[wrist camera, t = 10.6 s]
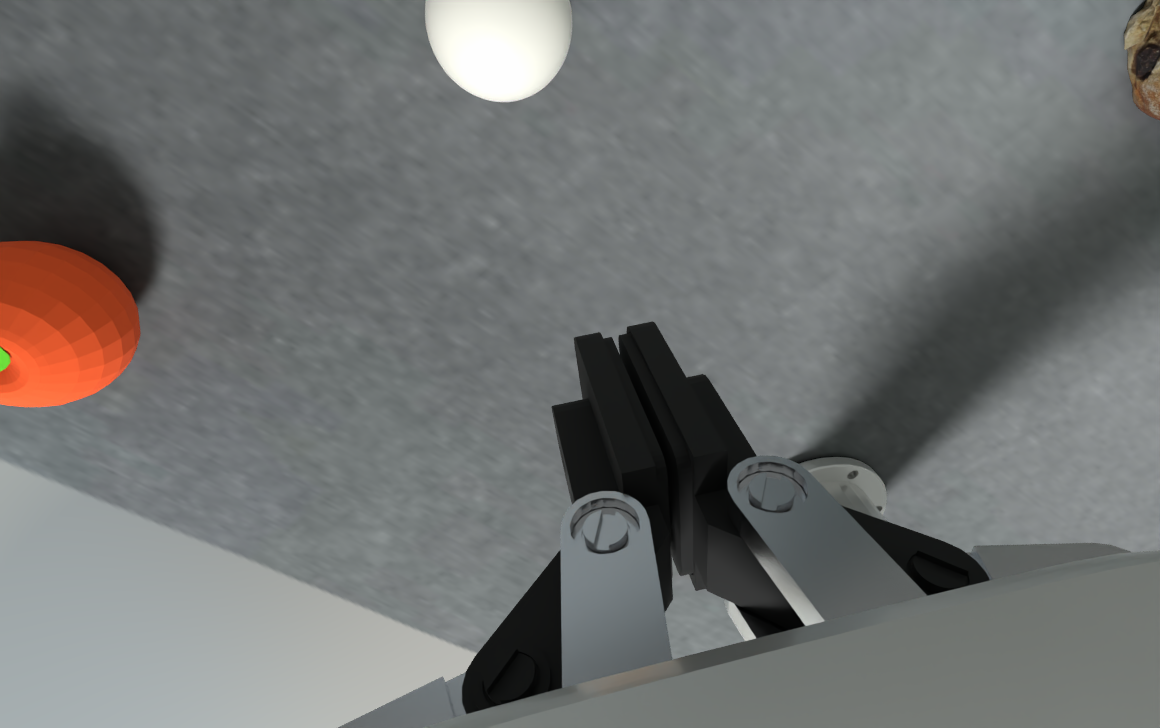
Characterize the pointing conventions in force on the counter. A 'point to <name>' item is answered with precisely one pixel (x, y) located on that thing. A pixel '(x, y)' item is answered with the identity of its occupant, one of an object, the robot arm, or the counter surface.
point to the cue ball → (500, 44)
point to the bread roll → (1145, 57)
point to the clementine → (60, 324)
